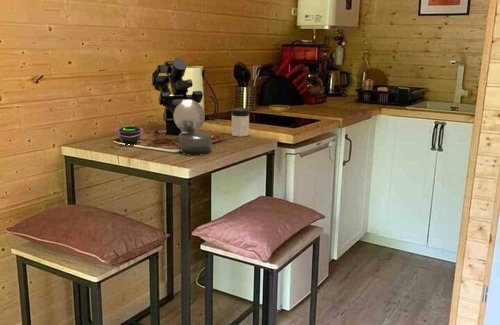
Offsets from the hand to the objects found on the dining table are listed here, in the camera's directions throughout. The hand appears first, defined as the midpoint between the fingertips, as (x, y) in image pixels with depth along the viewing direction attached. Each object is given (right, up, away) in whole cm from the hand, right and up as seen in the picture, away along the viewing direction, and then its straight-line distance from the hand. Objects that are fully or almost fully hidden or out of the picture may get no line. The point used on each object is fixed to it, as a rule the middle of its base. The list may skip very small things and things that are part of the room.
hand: (185, 113), depth 214 cm
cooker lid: (+3, -2, -6) cm, 7 cm away
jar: (+23, -8, +22) cm, 33 cm away
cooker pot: (+6, -16, -9) cm, 19 cm away
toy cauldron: (-23, -14, -2) cm, 27 cm away
